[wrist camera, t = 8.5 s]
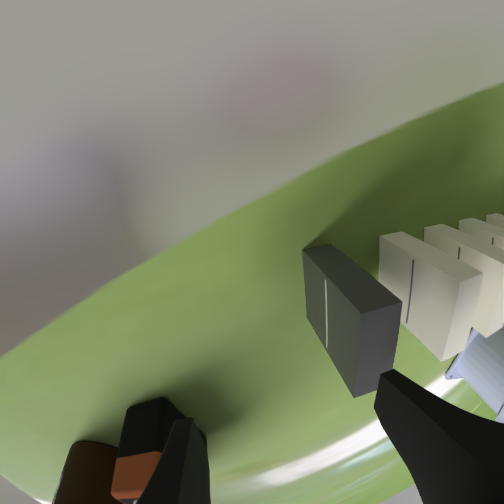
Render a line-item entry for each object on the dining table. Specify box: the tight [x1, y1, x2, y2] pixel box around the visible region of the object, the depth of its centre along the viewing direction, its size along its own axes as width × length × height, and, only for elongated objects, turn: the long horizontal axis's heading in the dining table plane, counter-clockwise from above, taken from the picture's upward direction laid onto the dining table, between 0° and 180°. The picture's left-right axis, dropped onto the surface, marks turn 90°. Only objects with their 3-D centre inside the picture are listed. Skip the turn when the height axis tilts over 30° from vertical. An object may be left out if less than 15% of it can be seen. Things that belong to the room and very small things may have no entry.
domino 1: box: [302, 244, 403, 398], centre depth 15 cm, size 2×5×8 cm, turn 8°
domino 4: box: [424, 224, 504, 338], centre depth 16 cm, size 2×5×8 cm, turn 8°
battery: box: [111, 398, 211, 504], centre depth 17 cm, size 4×7×10 cm, turn 25°
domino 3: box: [459, 218, 504, 250], centre depth 16 cm, size 2×5×8 cm, turn 8°
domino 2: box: [378, 231, 483, 362], centre depth 16 cm, size 2×5×8 cm, turn 8°
